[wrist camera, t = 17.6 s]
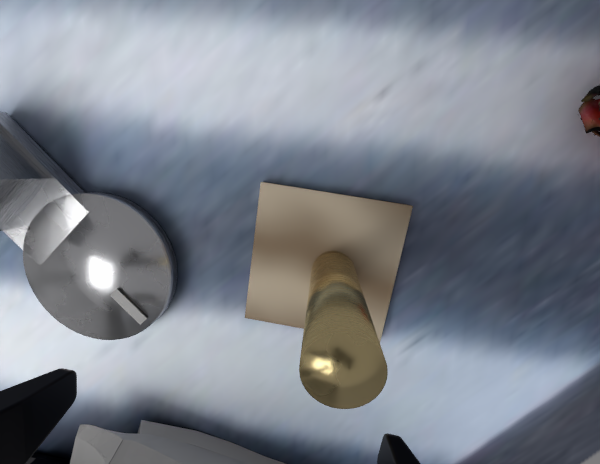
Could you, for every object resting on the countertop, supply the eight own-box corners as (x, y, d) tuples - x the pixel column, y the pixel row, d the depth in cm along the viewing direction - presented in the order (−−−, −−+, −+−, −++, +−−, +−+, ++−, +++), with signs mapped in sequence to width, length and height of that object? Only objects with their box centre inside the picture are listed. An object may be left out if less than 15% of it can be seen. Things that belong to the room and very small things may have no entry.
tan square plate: (378, 337, 21) (379, 342, 20) (247, 313, 21) (244, 317, 21) (410, 205, 19) (412, 206, 18) (262, 181, 19) (261, 182, 18)
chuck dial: (207, 273, 21) (178, 298, 17) (116, 355, 23) (70, 396, 19) (26, 86, 19) (-57, 61, 15) (-54, 194, 21) (-145, 200, 17)
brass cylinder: (351, 294, 20) (378, 415, 10) (308, 288, 20) (294, 401, 10) (358, 254, 19) (395, 339, 9) (314, 248, 19) (305, 326, 9)
